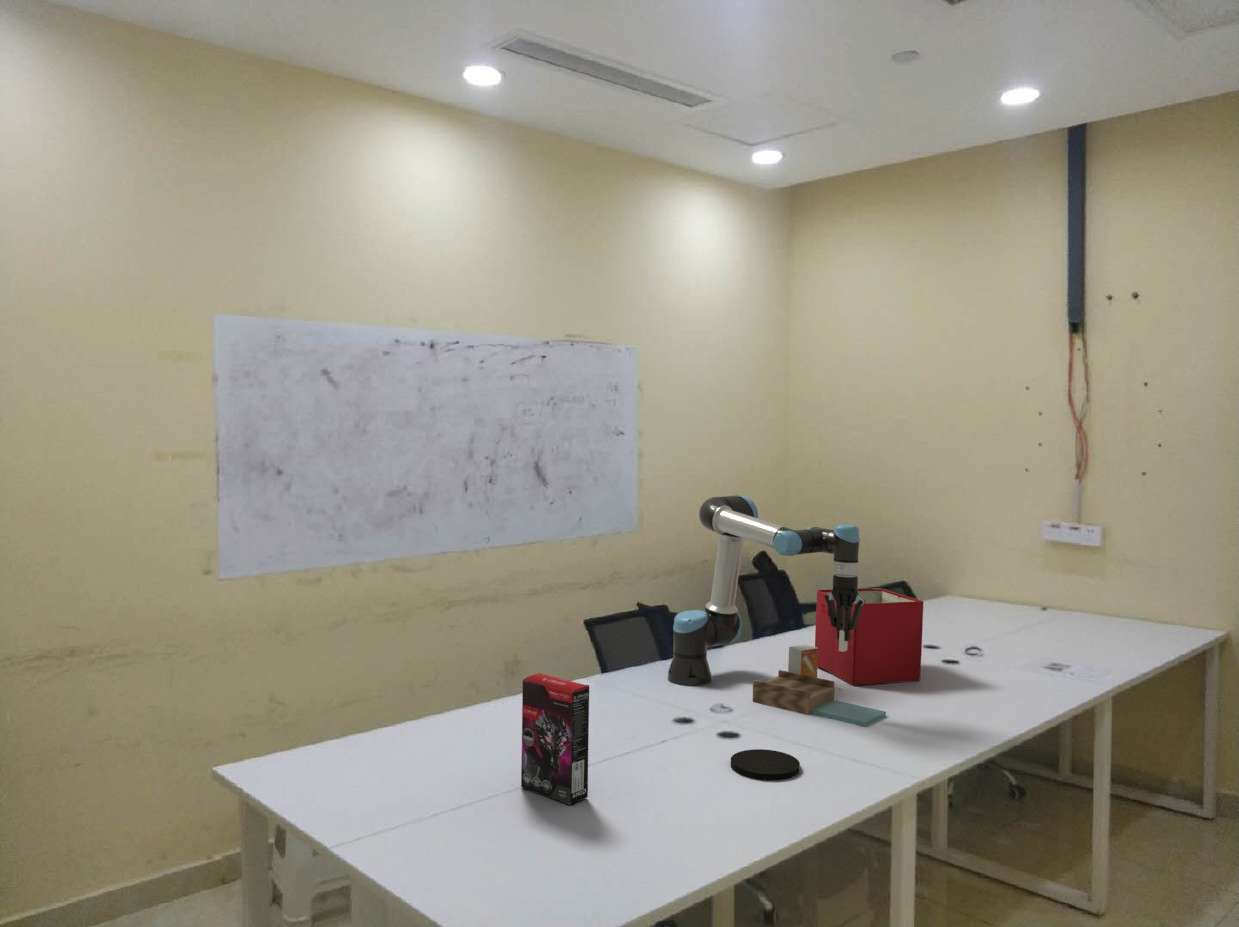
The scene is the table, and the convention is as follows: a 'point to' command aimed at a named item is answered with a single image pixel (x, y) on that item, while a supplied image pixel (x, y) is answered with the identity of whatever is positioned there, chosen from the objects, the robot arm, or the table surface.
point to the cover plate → (848, 713)
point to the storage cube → (873, 639)
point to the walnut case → (793, 692)
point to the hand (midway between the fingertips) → (843, 650)
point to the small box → (803, 660)
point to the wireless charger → (765, 765)
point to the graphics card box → (555, 737)
